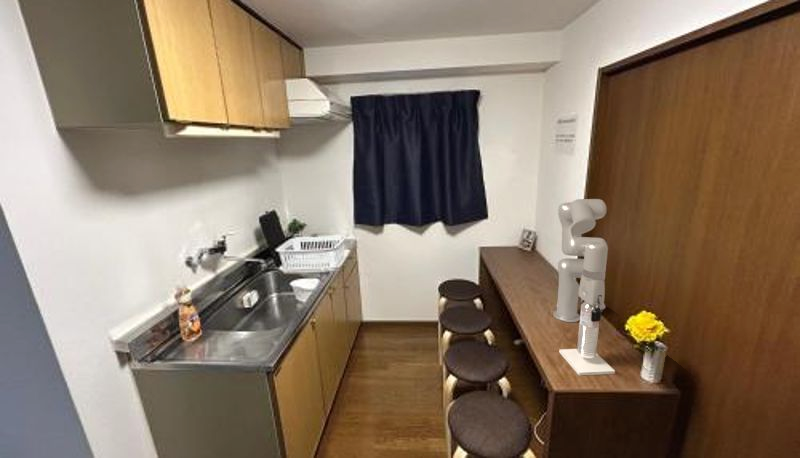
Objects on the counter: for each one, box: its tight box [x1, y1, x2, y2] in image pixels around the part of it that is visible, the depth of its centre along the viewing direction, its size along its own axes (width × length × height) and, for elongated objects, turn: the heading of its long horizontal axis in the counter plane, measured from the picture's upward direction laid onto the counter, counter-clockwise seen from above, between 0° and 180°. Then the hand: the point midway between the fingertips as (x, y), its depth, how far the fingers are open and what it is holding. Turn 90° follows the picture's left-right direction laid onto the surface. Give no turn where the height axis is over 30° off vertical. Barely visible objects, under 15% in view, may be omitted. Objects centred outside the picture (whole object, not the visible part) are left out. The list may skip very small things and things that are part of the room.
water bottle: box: [576, 302, 600, 358], centre depth 136 cm, size 7×7×25 cm
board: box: [558, 348, 616, 376], centre depth 139 cm, size 16×14×1 cm
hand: (589, 316), depth 135 cm, fingers closed on water bottle, 6 cm apart
